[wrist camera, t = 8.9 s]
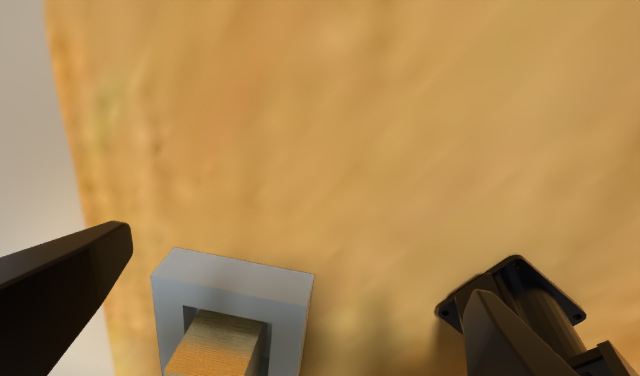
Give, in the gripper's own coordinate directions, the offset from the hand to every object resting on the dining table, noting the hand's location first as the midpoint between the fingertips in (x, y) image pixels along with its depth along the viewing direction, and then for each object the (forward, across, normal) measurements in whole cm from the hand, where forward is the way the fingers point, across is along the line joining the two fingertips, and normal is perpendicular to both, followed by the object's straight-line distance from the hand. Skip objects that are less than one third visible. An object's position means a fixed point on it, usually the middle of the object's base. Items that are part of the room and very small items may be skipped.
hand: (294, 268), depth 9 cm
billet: (+11, +5, +15) cm, 20 cm away
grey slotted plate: (+12, +5, +21) cm, 25 cm away
